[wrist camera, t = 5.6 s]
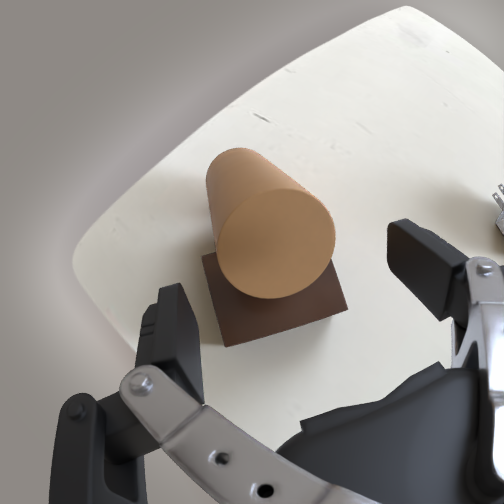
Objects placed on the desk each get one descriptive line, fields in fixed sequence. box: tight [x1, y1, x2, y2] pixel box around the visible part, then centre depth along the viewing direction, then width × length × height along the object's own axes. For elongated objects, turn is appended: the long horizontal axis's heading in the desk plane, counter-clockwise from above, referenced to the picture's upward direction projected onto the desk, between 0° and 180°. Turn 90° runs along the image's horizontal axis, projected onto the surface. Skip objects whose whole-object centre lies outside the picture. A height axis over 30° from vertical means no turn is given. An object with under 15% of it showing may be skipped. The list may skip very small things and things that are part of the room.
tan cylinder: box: [206, 148, 336, 299], centre depth 18 cm, size 12×5×12 cm, turn 16°
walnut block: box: [201, 252, 348, 347], centre depth 20 cm, size 6×8×4 cm
